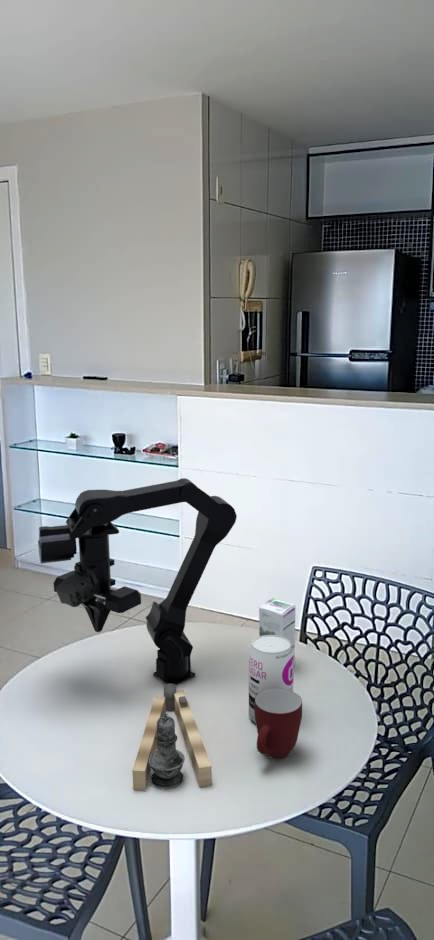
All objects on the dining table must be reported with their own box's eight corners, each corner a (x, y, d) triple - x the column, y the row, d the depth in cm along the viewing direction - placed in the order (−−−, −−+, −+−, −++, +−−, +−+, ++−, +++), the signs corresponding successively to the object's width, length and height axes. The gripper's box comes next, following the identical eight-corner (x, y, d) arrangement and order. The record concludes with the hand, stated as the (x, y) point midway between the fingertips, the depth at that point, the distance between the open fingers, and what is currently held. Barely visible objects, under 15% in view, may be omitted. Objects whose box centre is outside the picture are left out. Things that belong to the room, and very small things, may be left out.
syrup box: (295, 666, 155) (296, 603, 152) (281, 678, 151) (282, 612, 147) (272, 659, 159) (273, 596, 155) (257, 670, 154) (258, 606, 150)
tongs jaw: (155, 713, 138) (154, 696, 138) (165, 713, 138) (165, 696, 137) (133, 789, 117) (132, 770, 116) (145, 790, 117) (144, 771, 116)
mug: (287, 781, 119) (288, 726, 116) (241, 768, 122) (241, 714, 120) (307, 745, 128) (308, 694, 126) (264, 734, 131) (264, 684, 129)
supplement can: (298, 711, 139) (299, 638, 135) (283, 734, 132) (284, 657, 128) (258, 701, 142) (258, 630, 139) (241, 723, 135) (241, 649, 131)
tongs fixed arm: (163, 705, 141) (162, 684, 140) (182, 702, 142) (182, 681, 141) (188, 789, 117) (187, 764, 116) (211, 785, 118) (211, 760, 117)
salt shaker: (149, 768, 122) (147, 703, 120) (184, 765, 123) (183, 701, 120) (149, 791, 117) (146, 724, 114) (186, 788, 117) (184, 721, 114)
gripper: (29, 558, 140) (34, 634, 143) (98, 580, 129) (102, 661, 133) (73, 542, 148) (77, 614, 152) (141, 561, 138) (144, 638, 141)
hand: (98, 631), depth 144 cm, fingers closed
